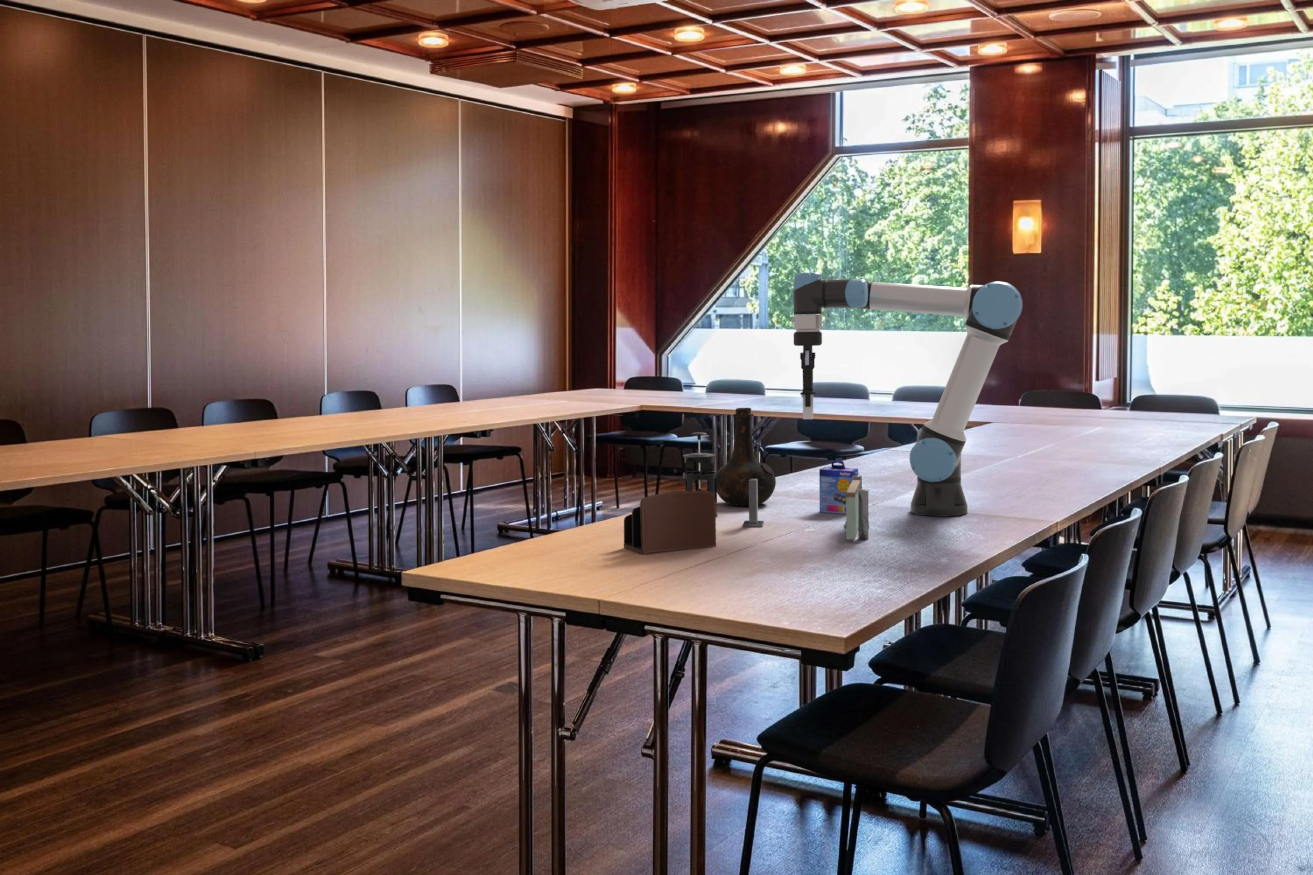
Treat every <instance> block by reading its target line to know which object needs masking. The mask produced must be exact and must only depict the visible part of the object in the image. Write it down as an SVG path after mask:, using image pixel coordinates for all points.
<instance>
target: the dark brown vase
mask: <svg viewBox="0 0 1313 875" xmlns="http://www.w3.org/2000/svg"><path fill="white" fill-rule="evenodd" d="M751 411H752V408H751V407H737V408H735V413H734V414H732V417H735V425H734V427H735V428H734V429H735V430H734V442H733V449H732V453H731V457H730V459H729V461H728V462H727V463H725V464H724V465H723V466H721V467H720V468H719V469H718V470H717V471H716V472H717V496H718V497H719V498H720V499H721V500H722V501H724V503H726V504H728V505H730V506H735V507H749V479H757V484H758V506H759V505H762V504H764V503H765V502H767V501H768V500H769V499H770V497H771V496H772V495H773V493H774V491H775V489H776V484H777V481H776V476H775V473H774V470H773V469H772V467H771V466H770V465H768V464H766V463H763V462H759V461H758V460H757V458H756V455H755V449H754V442H753V432H752V431H753V430H752V417H753V416H755V415H754V413H752V412H751Z"/></svg>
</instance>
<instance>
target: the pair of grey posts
mask: <svg viewBox="0 0 1313 875" xmlns="http://www.w3.org/2000/svg"><path fill="white" fill-rule="evenodd" d="M852 480H861V489H859V490H858V530H857V533H858V535H857V537H858V538H857V539H858V540H860V541H867V540H869V529H870V521H869V489H868V488H867V489H866V488H863V476H862V475H858V476H852ZM758 506H759V505H758V484H757V479H749V506H748V507H749V508H748V520H744V521H743V523H742V527H743V528H763V527H764V524H765V521H764V520H759V515H758V513H759V512H758V511H759V510H758V509H759V507H758ZM844 526H845V527H844V528H845V529H846V520H845V522H844Z"/></svg>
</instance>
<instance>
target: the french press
mask: <svg viewBox="0 0 1313 875" xmlns="http://www.w3.org/2000/svg"><path fill="white" fill-rule="evenodd" d="M691 435H693V436H696V437H697V441H698V452H692V453H687V454H683V455H682V457H683V458H684V463H685V464H686V463H690V462H691V463H692V462H697V463H698V470H691V471H684V472H683V473H682V478H683V479H684V480H685V481H684V483H685V488H684V489H685V490H684V491H693V481H696V480H697V481H698V483H699V485H698V490H697V491H702V488H701V481H702V480H704V481H705V480H706V484H707V485H706V488H707V489H706V491H710V492H713V493H714V495H715V503H716V504H717V503H718V494H717V472H718V471H715V470H714V471H713V470H712V471H711V470H701V465H713V464H715V458H716V456H717V455H716V454H715V453H709V452H701V440H702V436H704V435H708V434H707V433H706V432H701V431H700V432H692V433H691ZM717 511H718V510H717V506H716V518H717V517H718V512H717Z"/></svg>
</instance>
